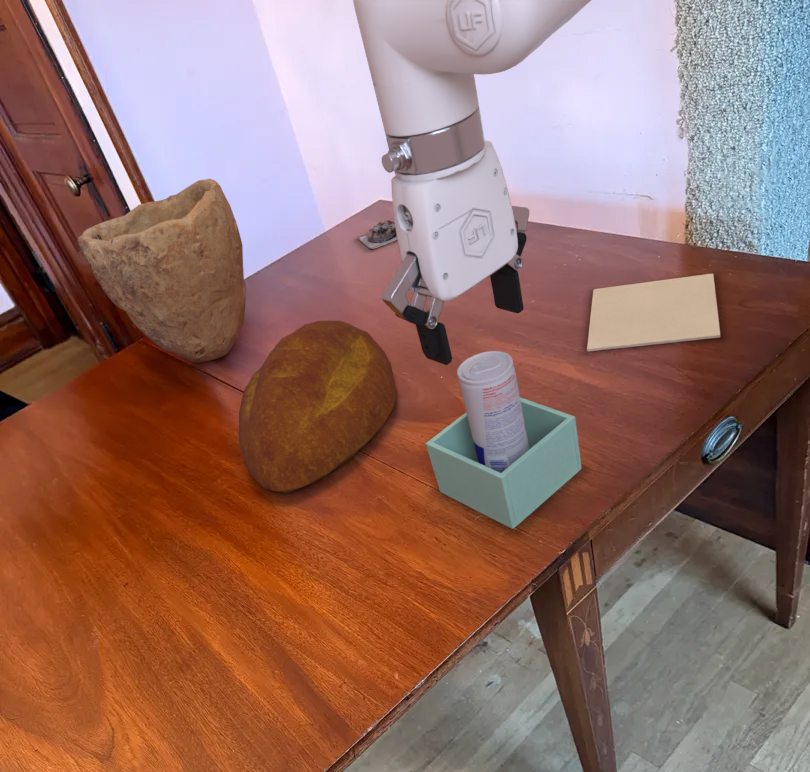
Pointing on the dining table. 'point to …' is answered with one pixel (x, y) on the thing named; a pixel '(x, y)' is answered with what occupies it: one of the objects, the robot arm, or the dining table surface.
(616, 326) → the mat
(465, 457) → the open square box
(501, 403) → the beverage can
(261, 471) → the bread
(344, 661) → the dining table surface
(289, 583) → the dining table surface
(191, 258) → the bowl
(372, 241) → the rusty domed plate
